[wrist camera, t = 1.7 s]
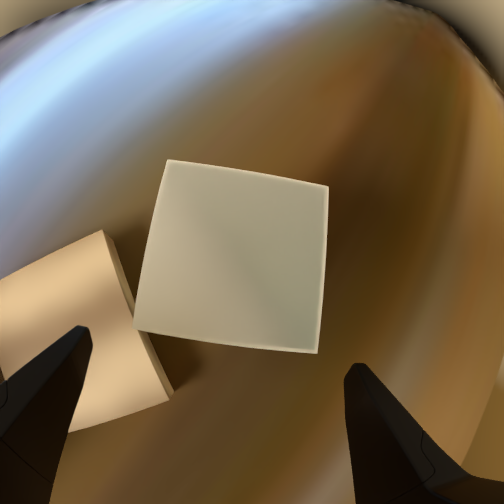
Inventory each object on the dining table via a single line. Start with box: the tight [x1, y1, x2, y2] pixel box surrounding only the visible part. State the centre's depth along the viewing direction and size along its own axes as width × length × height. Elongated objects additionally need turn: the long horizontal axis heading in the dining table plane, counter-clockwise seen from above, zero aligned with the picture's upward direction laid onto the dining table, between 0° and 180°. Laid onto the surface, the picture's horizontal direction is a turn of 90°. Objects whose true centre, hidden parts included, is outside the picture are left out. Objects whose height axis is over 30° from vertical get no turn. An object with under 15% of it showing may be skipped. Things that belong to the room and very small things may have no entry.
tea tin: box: [132, 160, 329, 354], centre depth 15 cm, size 5×5×12 cm
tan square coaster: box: [0, 230, 174, 433], centre depth 17 cm, size 11×11×3 cm
